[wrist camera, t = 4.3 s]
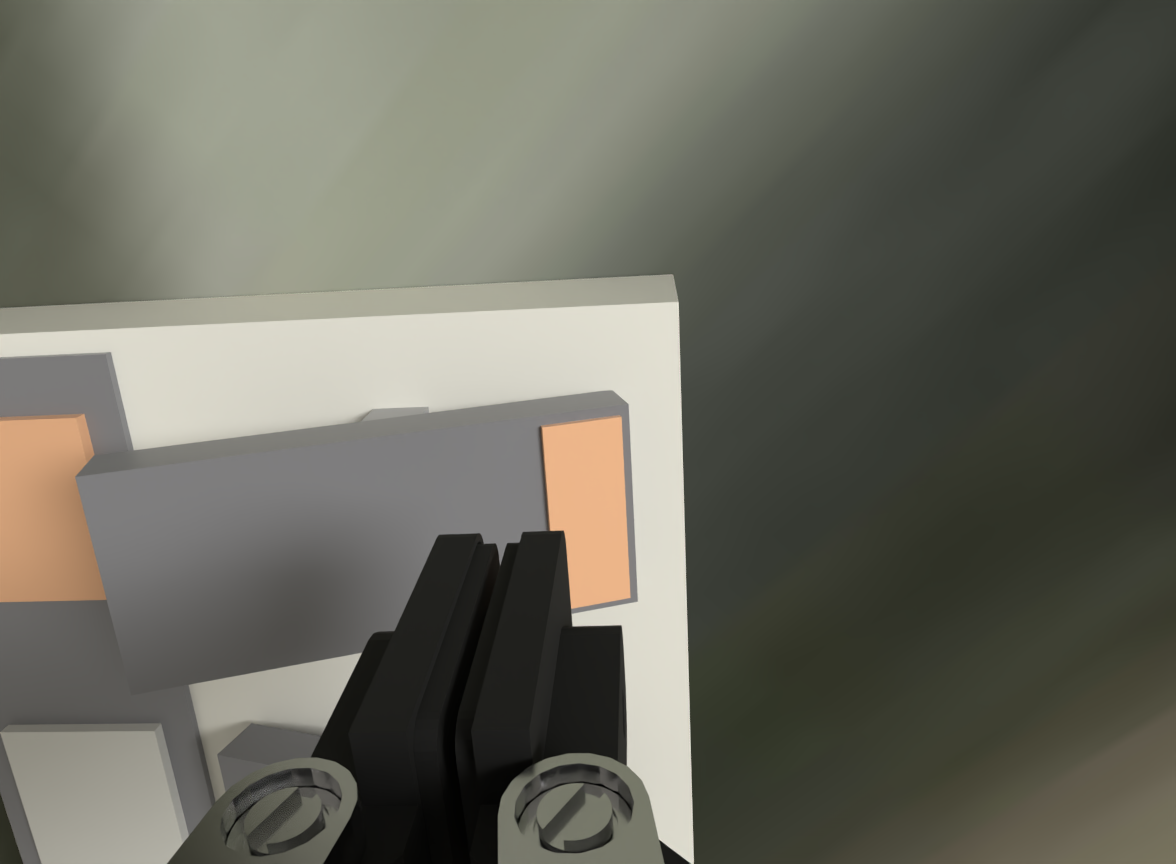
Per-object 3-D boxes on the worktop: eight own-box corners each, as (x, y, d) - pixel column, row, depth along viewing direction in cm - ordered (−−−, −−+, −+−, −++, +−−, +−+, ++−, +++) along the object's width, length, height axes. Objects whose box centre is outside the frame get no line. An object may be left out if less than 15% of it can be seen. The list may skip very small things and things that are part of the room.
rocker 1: (251, 722, 21) (212, 758, 20) (646, 796, 18) (628, 844, 17) (281, 866, 23) (247, 907, 21) (654, 958, 19) (638, 1013, 18)
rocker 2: (93, 455, 16) (73, 479, 15) (611, 389, 18) (630, 406, 17) (145, 661, 17) (129, 699, 16) (621, 576, 20) (639, 604, 18)
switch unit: (-15, 308, 23) (-188, 351, 18) (672, 274, 21) (679, 310, 17) (173, 994, 30) (85, 1151, 26) (693, 1003, 29) (703, 1171, 24)
